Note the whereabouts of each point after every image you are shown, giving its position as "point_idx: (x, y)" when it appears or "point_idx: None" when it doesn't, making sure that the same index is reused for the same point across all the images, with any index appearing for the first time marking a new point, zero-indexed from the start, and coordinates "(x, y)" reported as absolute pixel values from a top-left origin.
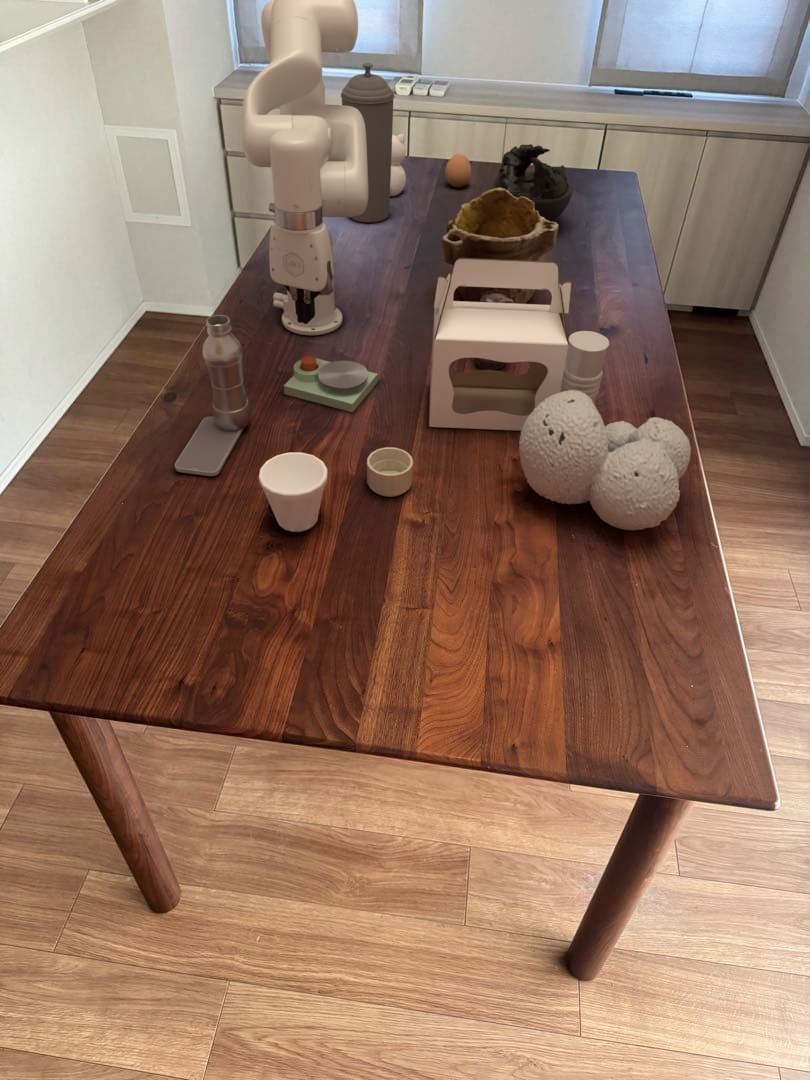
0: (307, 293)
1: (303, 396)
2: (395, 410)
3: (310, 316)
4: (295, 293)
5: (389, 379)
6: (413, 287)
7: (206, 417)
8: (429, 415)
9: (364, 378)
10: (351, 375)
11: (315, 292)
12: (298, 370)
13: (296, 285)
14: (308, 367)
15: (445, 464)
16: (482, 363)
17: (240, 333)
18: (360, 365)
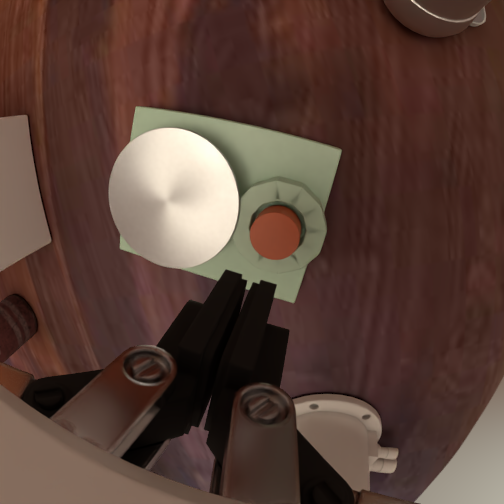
0: (104, 406)
1: (279, 131)
2: (77, 145)
3: (189, 303)
4: (243, 435)
5: (115, 255)
6: (187, 479)
7: (483, 22)
8: (26, 139)
9: (112, 189)
10: (144, 196)
11: (45, 398)
12: (305, 202)
13: (110, 493)
14: (271, 209)
15: (11, 39)
16: (15, 302)
17: (459, 379)
18: (139, 249)
